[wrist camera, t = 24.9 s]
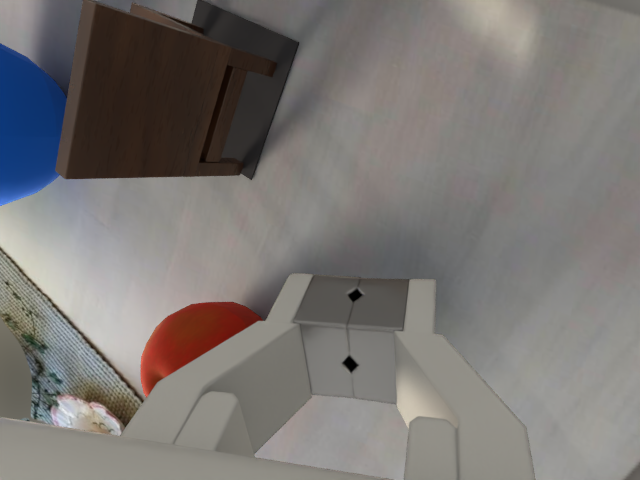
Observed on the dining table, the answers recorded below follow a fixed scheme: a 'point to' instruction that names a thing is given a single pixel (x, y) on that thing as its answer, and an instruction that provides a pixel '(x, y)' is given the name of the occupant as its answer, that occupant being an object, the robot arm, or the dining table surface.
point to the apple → (190, 337)
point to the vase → (27, 126)
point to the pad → (249, 79)
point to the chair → (150, 97)
